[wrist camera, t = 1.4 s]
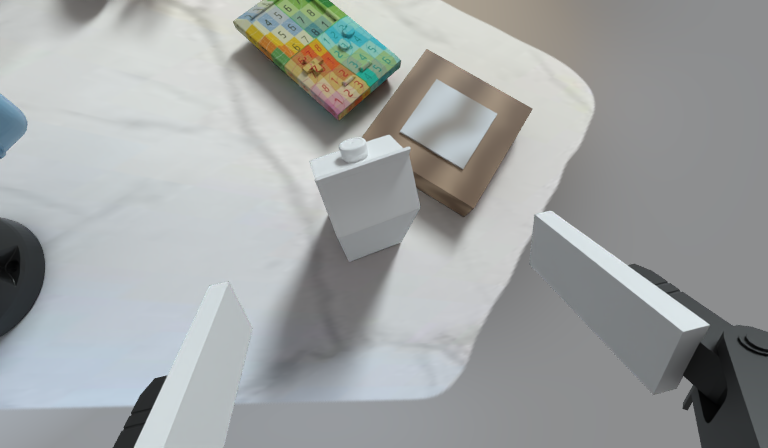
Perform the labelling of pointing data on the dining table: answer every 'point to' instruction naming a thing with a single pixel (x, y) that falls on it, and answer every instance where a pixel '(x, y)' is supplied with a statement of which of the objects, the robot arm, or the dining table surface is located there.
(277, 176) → the dining table surface
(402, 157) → the milk carton
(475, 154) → the walnut riser
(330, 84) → the puzzle game
